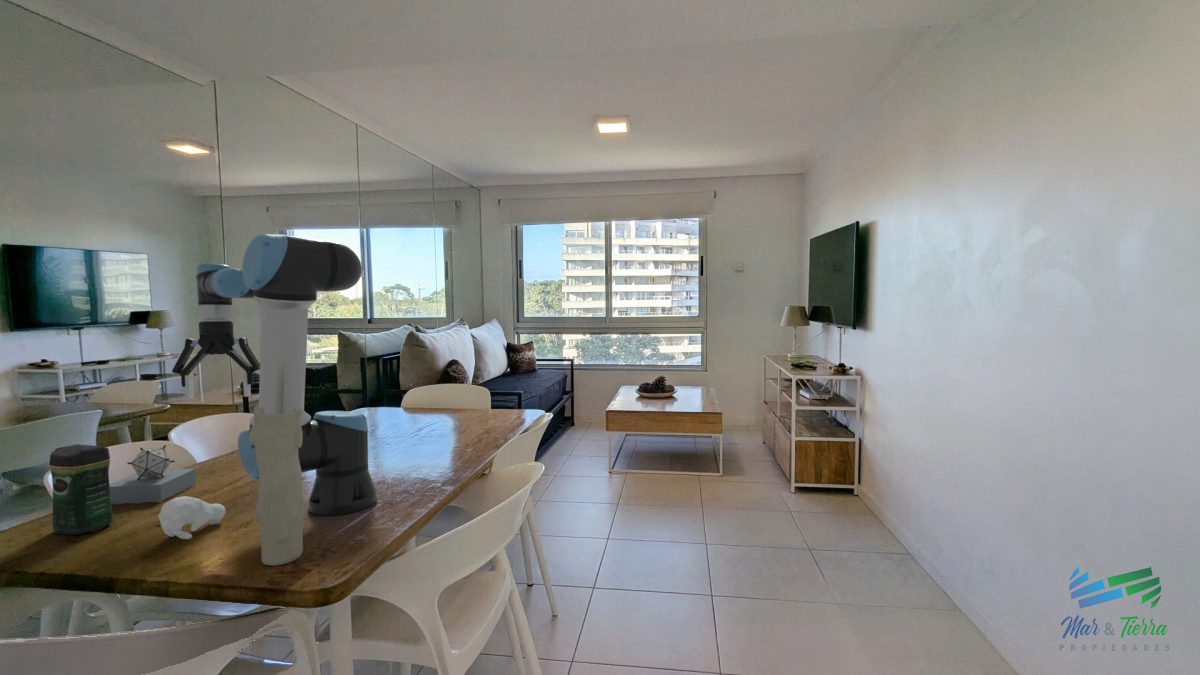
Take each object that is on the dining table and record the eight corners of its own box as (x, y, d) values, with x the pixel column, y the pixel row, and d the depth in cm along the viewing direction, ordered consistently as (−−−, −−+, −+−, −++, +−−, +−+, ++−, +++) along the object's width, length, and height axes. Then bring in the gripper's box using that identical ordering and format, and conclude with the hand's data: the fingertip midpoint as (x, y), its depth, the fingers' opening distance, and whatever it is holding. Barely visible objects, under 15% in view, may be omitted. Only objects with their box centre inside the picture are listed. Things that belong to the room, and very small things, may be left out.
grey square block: (161, 504, 126) (160, 484, 126) (103, 506, 124) (102, 487, 124) (195, 486, 139) (195, 468, 139) (143, 488, 137) (143, 470, 137)
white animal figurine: (155, 499, 105) (214, 485, 116) (152, 540, 104) (212, 523, 116) (176, 502, 103) (234, 488, 114) (173, 545, 102) (232, 526, 114)
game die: (154, 492, 130) (144, 469, 124) (125, 480, 131) (114, 456, 125) (186, 467, 138) (178, 443, 132) (158, 456, 138) (149, 432, 132)
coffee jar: (121, 522, 113) (117, 442, 113) (78, 538, 106) (73, 451, 105) (89, 518, 116) (85, 439, 115) (44, 533, 108) (40, 448, 107)
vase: (245, 568, 94) (240, 409, 92) (274, 546, 102) (270, 401, 101) (291, 568, 94) (287, 409, 92) (317, 547, 102) (313, 401, 101)
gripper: (272, 320, 145) (275, 393, 146) (169, 321, 138) (173, 397, 139) (262, 320, 138) (265, 396, 138) (153, 321, 131) (157, 401, 132)
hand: (219, 397), depth 139 cm, fingers open, 13 cm apart
